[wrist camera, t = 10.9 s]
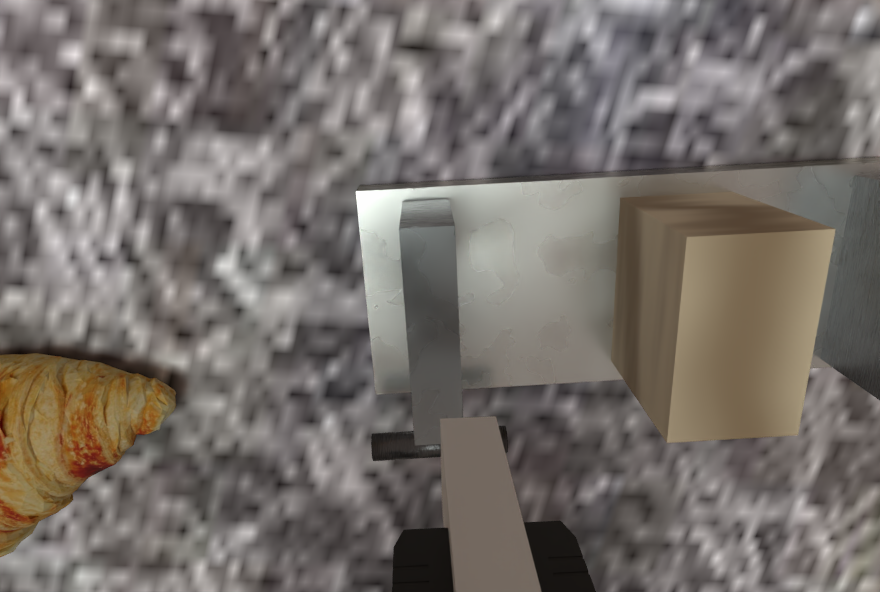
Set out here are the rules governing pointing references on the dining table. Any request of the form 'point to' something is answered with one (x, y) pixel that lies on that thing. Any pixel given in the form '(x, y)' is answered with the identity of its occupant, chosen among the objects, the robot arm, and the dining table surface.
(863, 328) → the fixed jaw
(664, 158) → the dining table surface
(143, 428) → the croissant
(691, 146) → the dining table surface
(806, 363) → the block
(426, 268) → the sliding jaw
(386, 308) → the vise bed
